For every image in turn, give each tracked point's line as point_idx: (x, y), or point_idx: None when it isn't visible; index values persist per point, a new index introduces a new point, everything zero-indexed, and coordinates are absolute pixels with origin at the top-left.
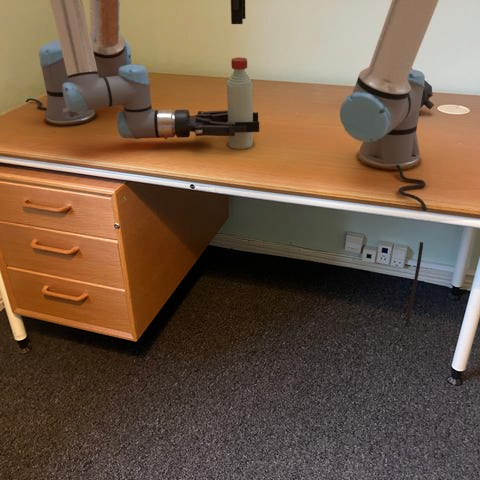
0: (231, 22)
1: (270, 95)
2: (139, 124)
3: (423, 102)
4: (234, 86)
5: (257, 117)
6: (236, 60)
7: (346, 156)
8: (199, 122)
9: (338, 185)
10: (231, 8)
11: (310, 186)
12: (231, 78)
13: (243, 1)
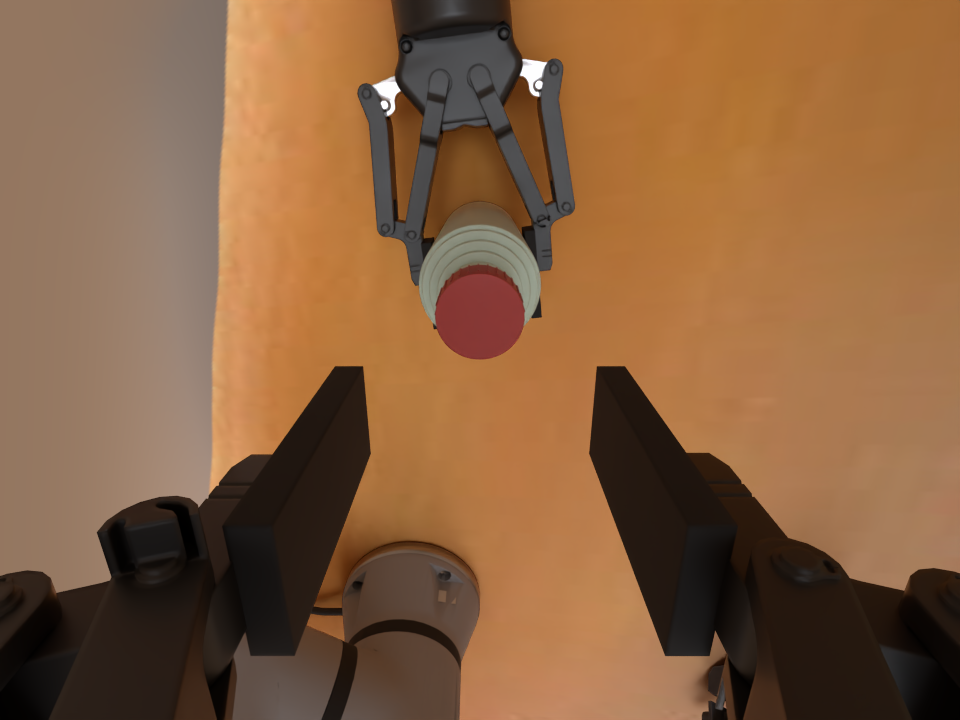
0: (330, 373)
1: None
2: None
3: (718, 717)
4: (421, 268)
5: None
6: (450, 305)
7: (417, 516)
8: (422, 93)
9: None
10: (287, 436)
11: (227, 437)
12: (460, 254)
13: (631, 540)
